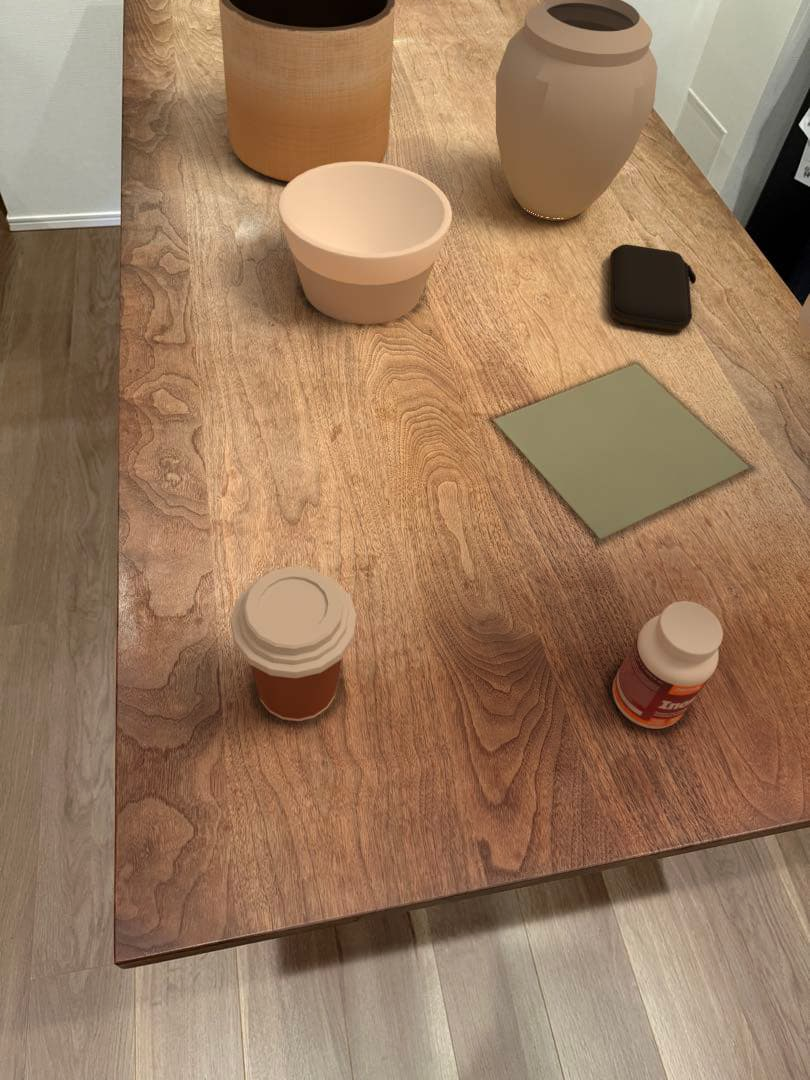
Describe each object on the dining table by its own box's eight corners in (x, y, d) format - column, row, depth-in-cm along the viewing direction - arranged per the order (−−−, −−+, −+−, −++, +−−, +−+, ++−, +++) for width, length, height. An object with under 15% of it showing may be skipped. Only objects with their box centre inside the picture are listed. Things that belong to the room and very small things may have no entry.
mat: (635, 366, 100) (636, 363, 99) (748, 469, 91) (749, 467, 90) (492, 422, 92) (492, 419, 92) (599, 541, 83) (600, 538, 83)
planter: (329, 98, 133) (330, -53, 117) (419, 164, 123) (433, 9, 107) (200, 134, 124) (182, -25, 108) (286, 209, 114) (280, 46, 98)
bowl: (248, 281, 104) (241, 197, 95) (365, 224, 113) (368, 143, 105) (359, 363, 96) (362, 280, 88) (475, 294, 106) (488, 213, 97)
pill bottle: (649, 745, 70) (695, 678, 62) (595, 689, 73) (632, 618, 65) (699, 705, 73) (750, 636, 64) (645, 652, 76) (687, 579, 67)
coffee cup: (324, 623, 75) (324, 537, 66) (372, 709, 71) (380, 630, 61) (224, 663, 72) (209, 579, 63) (267, 756, 67) (258, 680, 58)
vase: (484, 244, 112) (517, 42, 93) (472, 164, 124) (499, -29, 105) (632, 250, 114) (695, 53, 95) (606, 171, 126) (657, -18, 107)
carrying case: (696, 342, 103) (689, 269, 112) (705, 321, 101) (697, 249, 110) (606, 328, 103) (607, 257, 112) (612, 307, 101) (613, 236, 110)
